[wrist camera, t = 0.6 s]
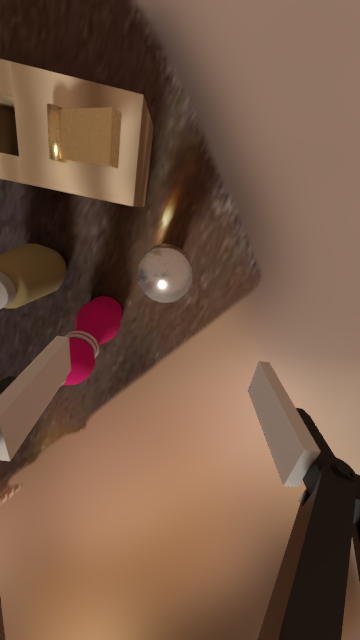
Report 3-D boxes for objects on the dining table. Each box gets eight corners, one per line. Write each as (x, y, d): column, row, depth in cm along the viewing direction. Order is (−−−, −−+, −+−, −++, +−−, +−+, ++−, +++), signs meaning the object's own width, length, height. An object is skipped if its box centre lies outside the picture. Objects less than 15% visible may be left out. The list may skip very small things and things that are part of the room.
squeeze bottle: (34, 229, 37) (-78, 246, 21) (81, 258, 39) (11, 293, 23) (19, 271, 40) (-89, 313, 24) (63, 295, 42) (-10, 349, 26)
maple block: (10, 178, 34) (-50, 168, 25) (0, 90, 30) (-76, 39, 21) (144, 206, 36) (133, 206, 27) (153, 126, 32) (143, 94, 23)
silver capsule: (146, 273, 40) (134, 297, 30) (151, 233, 38) (140, 243, 27) (184, 280, 41) (186, 306, 30) (192, 241, 38) (197, 254, 27)
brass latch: (60, 162, 25) (46, 158, 24) (59, 111, 23) (43, 103, 22) (118, 170, 21) (103, 166, 20) (121, 109, 19) (106, 100, 18)
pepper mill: (87, 289, 42) (18, 350, 24) (127, 297, 42) (89, 364, 24) (85, 323, 45) (22, 401, 27) (122, 331, 46) (85, 412, 28)
